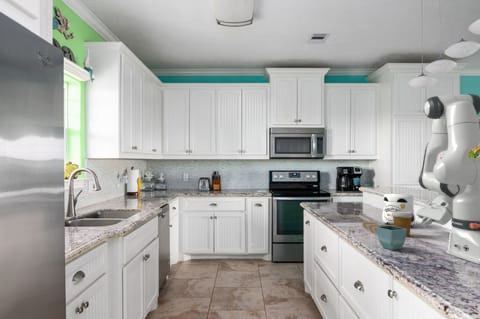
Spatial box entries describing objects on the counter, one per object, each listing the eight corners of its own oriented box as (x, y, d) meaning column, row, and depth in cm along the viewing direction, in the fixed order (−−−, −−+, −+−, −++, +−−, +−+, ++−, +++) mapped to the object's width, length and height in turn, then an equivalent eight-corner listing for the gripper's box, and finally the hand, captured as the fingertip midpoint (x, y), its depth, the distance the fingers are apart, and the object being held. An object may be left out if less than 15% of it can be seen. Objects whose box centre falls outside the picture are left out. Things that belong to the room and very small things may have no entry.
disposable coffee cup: (417, 236, 154) (417, 212, 154) (402, 238, 151) (402, 213, 151) (401, 232, 163) (401, 210, 163) (387, 234, 160) (387, 211, 160)
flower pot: (390, 244, 140) (390, 225, 140) (407, 250, 131) (407, 228, 131) (375, 246, 136) (375, 226, 136) (392, 252, 128) (392, 230, 128)
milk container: (384, 227, 176) (384, 196, 176) (380, 221, 193) (380, 193, 193) (418, 229, 171) (418, 197, 171) (411, 223, 188) (411, 194, 188)
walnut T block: (413, 237, 154) (413, 231, 154) (381, 237, 154) (381, 231, 154) (389, 226, 178) (389, 221, 178) (362, 226, 178) (362, 221, 178)
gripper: (424, 199, 168) (406, 217, 168) (450, 204, 147) (430, 225, 147) (432, 207, 168) (414, 225, 168) (459, 214, 147) (439, 234, 147)
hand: (422, 225), depth 157 cm, fingers closed
